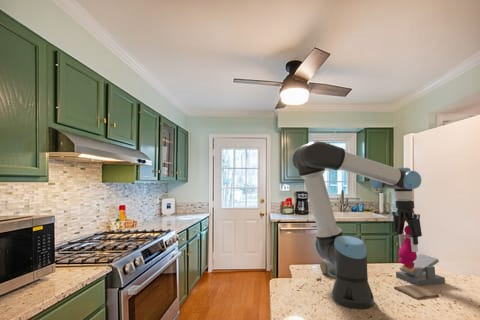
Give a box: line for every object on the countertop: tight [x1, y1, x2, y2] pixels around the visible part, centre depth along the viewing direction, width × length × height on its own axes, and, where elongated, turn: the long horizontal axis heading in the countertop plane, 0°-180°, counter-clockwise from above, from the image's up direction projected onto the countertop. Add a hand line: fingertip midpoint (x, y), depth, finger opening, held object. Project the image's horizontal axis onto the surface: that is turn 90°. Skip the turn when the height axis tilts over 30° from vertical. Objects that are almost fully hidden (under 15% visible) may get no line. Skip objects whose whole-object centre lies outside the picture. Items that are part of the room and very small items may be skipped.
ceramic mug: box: [319, 259, 336, 279], centre depth 132 cm, size 11×8×8 cm
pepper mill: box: [397, 224, 418, 267], centre depth 124 cm, size 7×7×20 cm
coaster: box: [393, 284, 440, 300], centre depth 110 cm, size 11×11×1 cm
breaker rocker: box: [398, 253, 440, 277], centre depth 124 cm, size 14×9×4 cm, turn 105°
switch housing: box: [395, 265, 446, 287], centre depth 124 cm, size 15×13×8 cm
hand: (408, 249), depth 124 cm, fingers closed on pepper mill, 6 cm apart
